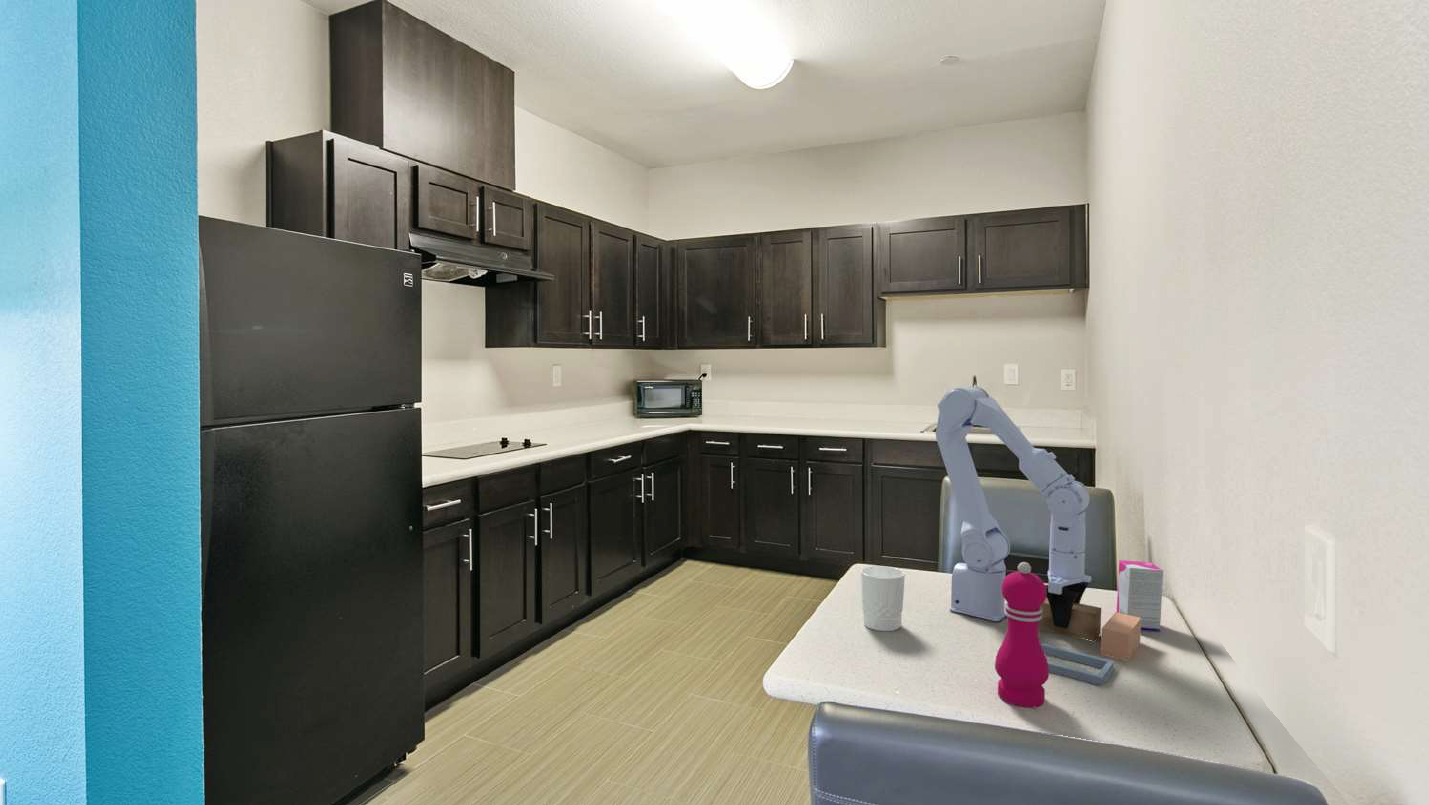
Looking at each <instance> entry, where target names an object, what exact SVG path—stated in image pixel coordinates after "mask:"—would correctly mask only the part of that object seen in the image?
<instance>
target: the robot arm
mask: <svg viewBox="0 0 1429 805" xmlns="http://www.w3.org/2000/svg"><path fill="white" fill-rule="evenodd" d="M937 408H938V411H939V412H938V418H937V424H936V428H935V429H936V430H935V438H936V442H937V445H938V448H939V450H940V454H941V457H942V461H943V464H944V466H945V467H944V468H945V469H946V472H947V476H948V479H949V482H950V486H951V488H952V489H951V490H952V492H953V495H954V498H955V501H956V504H957V508H958V510H959V511H958V512H959V515H960V517H961V520H962V524H961V530H960V534H959V535H960V538H961V543H962V544H961V552H960V553H961V556H962V560H963V562H958V563H956V564H955V566H954V567H953V571H952V575H951V592H950V593H951V595H950V596H951V597H950V602H951V604H950V607H949V611H951V612H954V613H958V614H963V615H967V616H972V617H976V618H979V619H985V620H989V621H993V622H1000V621H1002V619H1004V618H1005V617H1007V616H1006V615H1005V612H1004V611H1005V604H1006V603H1005V601H1006V600H1005V598H1004V597H1003V595H1002V591H1001V588H1002V582H1003V580H1004V579H1005V577H1006V569H1007V567H1006V564H1005V560H1004V559H1005V558H1007V557H1008V555H1009V554H1010V552H1011V544H1010V540H1009V539H1008V536H1006V534H1005V533H1004V532H1003V530H1002V529H1001V528H1000V525H999V522H998V521H997V519H995V517H993V515H991V513H990V510H989V506H988V503H987V500H986V497H985V495H984V490H983V488H982V485H981V481H980V478H979V476H978V475H979V474H978V472H977V470H976V467H975V463H974V461H973V460H974V459H973V457H972V454H971V452H970V448H969V445H968V441H967V436H968V434H969V433H970V431H971V429H972V428H973V426H974V425H976V426H980V427H984V428H988V429H989V430H990V431H992V433H993V434H995V436H996V438H998V439H999V440H1000V441H1001V442H1002V443H1003V444H1004V445H1005V446H1006V447H1007V448H1008V449H1009V450H1010V451H1011V452H1012V454H1014V455H1015V456H1016V457H1017V458H1018V460H1019V461H1018V463H1019V467H1018V468H1019V470H1020V471H1021V473H1023V475H1024V476H1025V477H1026V478H1027V479H1028V480H1029V481H1030V483H1031V484H1032V485H1033V486H1034V488H1036V489H1037V490H1038V491H1039V493H1040V494H1042V496H1044V497H1045V499H1046V500H1045V502H1046V503H1045V504H1046V506H1047V509H1048V510H1049V511H1050V522H1049V526H1050V527H1049V529H1050V530H1049V550H1048V551H1049V552H1048V553H1049V554H1048V556H1049V557H1048V559H1049V560H1048V570H1047V578H1048V584H1045V586H1046V592H1047V595H1046V597H1047V599H1048V602H1049V604H1050V608H1051V612H1052V617H1053V622H1054V625H1055V626H1057V627H1062V628H1068V625H1069V622H1070V617H1071V611H1072V607H1073V604H1074V602H1075V603H1080V602H1081V600H1082V597H1083V595H1084V593H1085V591H1086V589H1087V588H1088V586H1089V583H1090V582H1091V581H1092V576H1090V575H1086V574H1085V558H1086V557H1085V555H1086V554H1085V552H1086V529H1087V527H1086V511H1084V510H1085V509H1087V507H1088V506H1089V504H1090V499H1091V498H1090V493H1089V491H1088V488H1086V486H1085V484H1084V483H1083V482H1080V481H1078V480H1076V477H1074V476H1073V474H1068V473H1067V472H1066V471H1065V470H1064V469H1063V468H1062V466H1061V465H1060V464H1059V462H1057V461H1056V460H1055V459H1057V456H1056V455H1055V453H1054V452H1053V451H1052V452H1048V451H1047V450H1046V449H1045V448H1036V447H1034V445H1032V443H1031V442H1030V441H1029V440H1028V438H1027V437H1026V436H1025V435H1024V433H1023V432H1022V431H1021V430H1020V428H1018V426H1017V425H1016V424H1015V423H1014V421H1013V420H1012V419H1011V417H1010V416H1008V415H1007V413H1006V412H1005V411H1004V409H1003V408H1002V407H1001V405H1000V404H999V402H998V401H997V400H996V399H995V398H993V397H991V396H990V395H989V393H988V392H987V391H986V390H985V389H983V388H982V387H979V386H969V387H963V388H962V387H954V388H951V389H949V390H948V391H947V392H946V393H945V394H944V395H943V397H942V398H941V399H940V401H939V402H938V404H937ZM1080 604H1081V603H1080Z"/></svg>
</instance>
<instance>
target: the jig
mask: <svg viewBox="0 0 1429 805" xmlns="http://www.w3.org/2000/svg"><path fill="white" fill-rule="evenodd" d="M1040 644H1041V647H1042V650H1043V652H1044V654H1045V655H1050V656H1054V657H1058V658H1061V659H1065V660H1068V661H1069V660H1070V661H1074V662H1078V663H1082V664H1086V665H1090V666H1092V667H1098V668H1101V669H1100V671H1099V672H1097V673H1096V672H1090V671H1087V670H1083V669H1080V668H1076V667H1072V666H1069V665H1063V664H1060V663H1056V662H1052V661H1049V660H1047V662H1048V666H1049V673H1054V674H1057V675H1061V676H1064V677H1069V678H1073V679H1074V680H1075V679H1076V680H1080V681H1083V682H1086V683H1087V682H1088V683H1090V682H1091V683H1092V684H1095V685H1097V686H1103V685H1104V683H1105V682H1106V681H1107V679H1108V678H1109V676H1110V675H1111V674H1112V672H1113V670H1114V669H1115V660H1111V659H1108V658H1103V657H1099V656H1095V655H1091V654H1086V653H1083V652H1079V651H1074V650H1071V649H1066V648H1063V647H1058V646H1053V645H1052V644H1051V645H1049V644H1047V643H1042V642H1040ZM1107 677H1108V678H1107ZM1105 680H1106V681H1105ZM1091 683H1090V684H1091Z"/></svg>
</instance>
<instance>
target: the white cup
mask: <svg viewBox="0 0 1429 805" xmlns="http://www.w3.org/2000/svg"><path fill="white" fill-rule="evenodd" d="M905 577H906V573H905V571H903V570H902V569H899V568H896V567H893V566H884V565H871V566H866V567H864V568H862V569H861V571H860V578H861V581H860V582H861V603H862V613H863V625H864V626H865V627H867V628H868V629H871V630H874V631H879V632H880V631H881V632H893V631H897V630H899V629H900V628H901V627H902V612H903V607H904V606H903V605H904V594H905V591H904V590H905V579H906V578H905Z"/></svg>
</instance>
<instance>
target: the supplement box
mask: <svg viewBox="0 0 1429 805" xmlns="http://www.w3.org/2000/svg"><path fill="white" fill-rule="evenodd" d="M1118 563H1119V564H1118V578H1117V579H1118V580H1117V597H1116V613H1120V614H1125V615H1130V616H1135V617H1140V618H1141V631H1144V632H1145V631H1147V632H1161V621H1162V620H1161V619H1162V618H1161V617H1162V604H1163V603H1162V601H1163V600H1162V599H1163V582H1164V581H1163V579H1164V570H1163V569H1162V568H1160V567H1159V566H1157V565H1155V564H1154V563H1153V562H1151V561H1138V560H1137V561H1135V560H1124V559H1122V560H1121V559H1120V560H1119V561H1118Z"/></svg>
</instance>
